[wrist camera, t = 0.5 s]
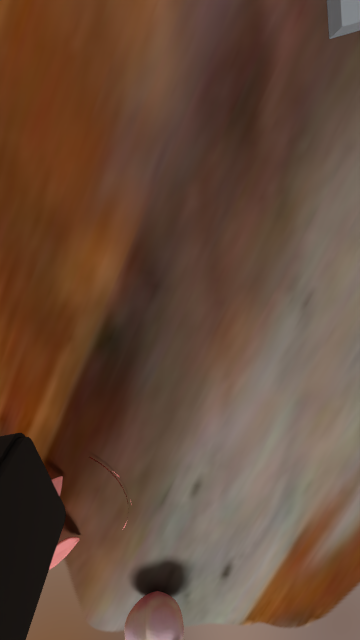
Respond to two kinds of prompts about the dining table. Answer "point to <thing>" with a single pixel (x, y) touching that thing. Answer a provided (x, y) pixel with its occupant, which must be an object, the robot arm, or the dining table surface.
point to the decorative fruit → (155, 619)
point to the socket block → (343, 17)
